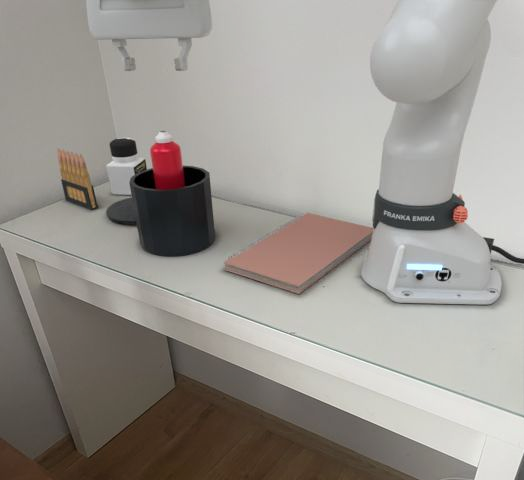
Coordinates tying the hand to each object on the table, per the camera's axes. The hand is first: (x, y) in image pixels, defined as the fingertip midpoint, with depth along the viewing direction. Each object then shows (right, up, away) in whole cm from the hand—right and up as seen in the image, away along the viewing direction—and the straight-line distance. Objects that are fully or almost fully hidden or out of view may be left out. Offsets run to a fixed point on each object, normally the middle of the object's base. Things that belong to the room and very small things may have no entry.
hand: (155, 70), depth 87 cm
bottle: (+1, -24, +17) cm, 30 cm away
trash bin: (+1, -24, +18) cm, 30 cm away
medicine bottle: (-15, -7, +43) cm, 46 cm away
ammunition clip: (-25, -12, +36) cm, 46 cm away
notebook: (+25, -28, +11) cm, 39 cm away
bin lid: (-9, -15, +30) cm, 35 cm away
